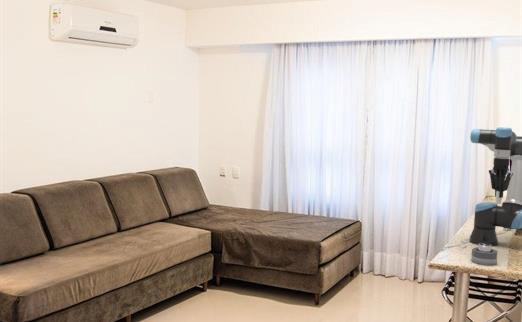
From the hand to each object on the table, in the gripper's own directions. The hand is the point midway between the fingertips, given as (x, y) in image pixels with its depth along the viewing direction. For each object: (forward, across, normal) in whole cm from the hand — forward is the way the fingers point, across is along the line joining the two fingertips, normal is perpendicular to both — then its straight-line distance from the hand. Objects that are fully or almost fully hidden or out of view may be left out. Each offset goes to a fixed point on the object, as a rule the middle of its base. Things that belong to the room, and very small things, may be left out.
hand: (498, 203), depth 298 cm
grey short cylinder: (+28, +3, -12) cm, 31 cm away
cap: (+25, +3, -12) cm, 28 cm away
